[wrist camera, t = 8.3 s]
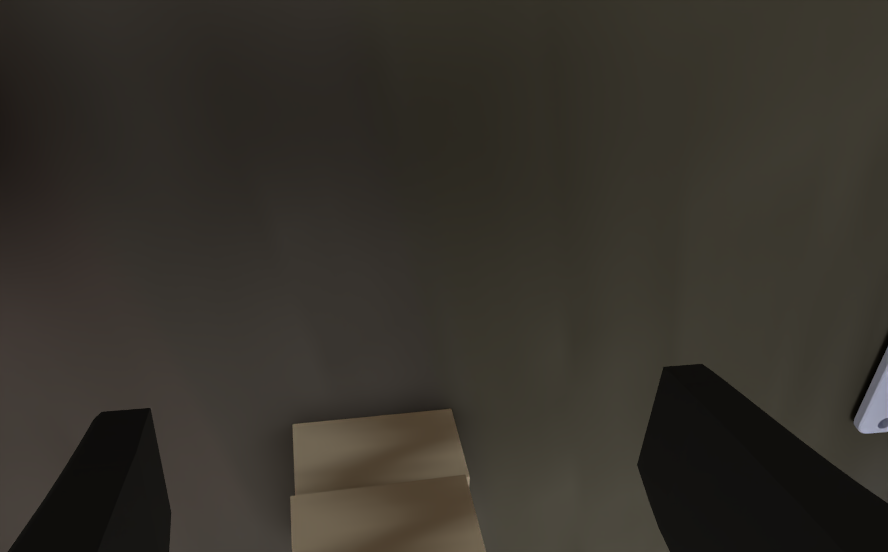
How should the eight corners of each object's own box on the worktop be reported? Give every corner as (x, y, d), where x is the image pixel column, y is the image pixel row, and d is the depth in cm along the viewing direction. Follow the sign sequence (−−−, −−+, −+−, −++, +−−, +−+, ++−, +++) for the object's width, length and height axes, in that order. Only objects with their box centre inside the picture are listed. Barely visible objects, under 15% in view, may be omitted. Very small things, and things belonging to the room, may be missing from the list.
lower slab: (450, 406, 26) (469, 477, 24) (444, 510, 29) (460, 582, 26) (292, 421, 25) (295, 496, 23) (301, 526, 28) (305, 604, 26)
